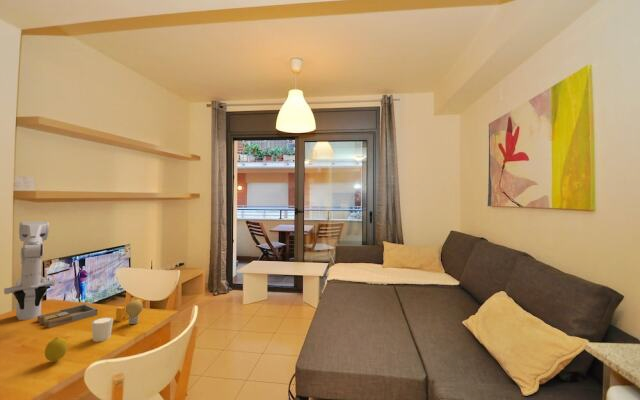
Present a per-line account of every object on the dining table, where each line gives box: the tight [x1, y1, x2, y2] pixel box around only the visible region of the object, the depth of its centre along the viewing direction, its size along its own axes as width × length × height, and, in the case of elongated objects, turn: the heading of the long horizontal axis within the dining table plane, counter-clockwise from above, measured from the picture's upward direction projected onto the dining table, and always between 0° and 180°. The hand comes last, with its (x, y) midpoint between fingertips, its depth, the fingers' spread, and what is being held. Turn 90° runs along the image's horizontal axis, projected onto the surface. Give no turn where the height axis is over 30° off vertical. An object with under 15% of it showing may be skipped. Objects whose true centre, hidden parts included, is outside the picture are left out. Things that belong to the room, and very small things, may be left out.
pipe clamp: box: [115, 299, 144, 324], centre depth 133 cm, size 12×4×6 cm, turn 170°
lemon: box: [44, 337, 68, 363], centre depth 95 cm, size 6×6×8 cm
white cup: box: [91, 316, 114, 343], centre depth 112 cm, size 7×7×7 cm
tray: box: [59, 303, 98, 322], centre depth 131 cm, size 12×10×2 cm
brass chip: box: [43, 315, 58, 324], centre depth 122 cm, size 4×4×2 cm
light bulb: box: [125, 299, 144, 325], centre depth 126 cm, size 6×6×10 cm
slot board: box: [36, 310, 96, 329], centre depth 127 cm, size 12×17×3 cm
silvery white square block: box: [55, 312, 69, 318], centre depth 125 cm, size 4×4×2 cm
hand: (29, 307), depth 116 cm, fingers open, 4 cm apart
